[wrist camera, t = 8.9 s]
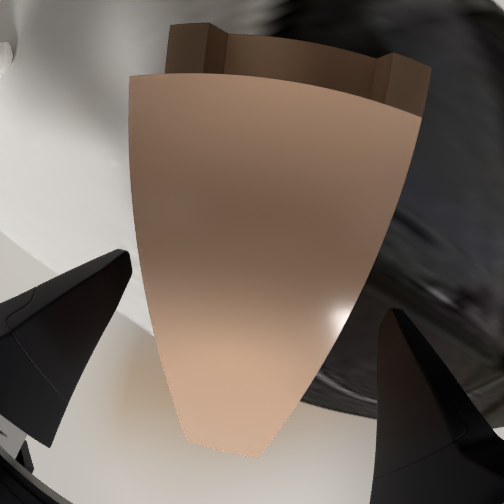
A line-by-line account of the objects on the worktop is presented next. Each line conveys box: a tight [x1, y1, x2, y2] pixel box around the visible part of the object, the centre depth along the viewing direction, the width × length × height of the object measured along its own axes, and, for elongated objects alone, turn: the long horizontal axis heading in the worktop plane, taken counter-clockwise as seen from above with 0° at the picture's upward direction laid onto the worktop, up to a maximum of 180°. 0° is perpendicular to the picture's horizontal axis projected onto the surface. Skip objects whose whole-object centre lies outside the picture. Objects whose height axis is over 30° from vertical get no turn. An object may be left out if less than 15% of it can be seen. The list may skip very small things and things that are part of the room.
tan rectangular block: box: [129, 73, 422, 458], centre depth 8 cm, size 3×12×7 cm, turn 173°
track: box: [165, 23, 432, 203], centre depth 11 cm, size 8×16×3 cm, turn 173°
